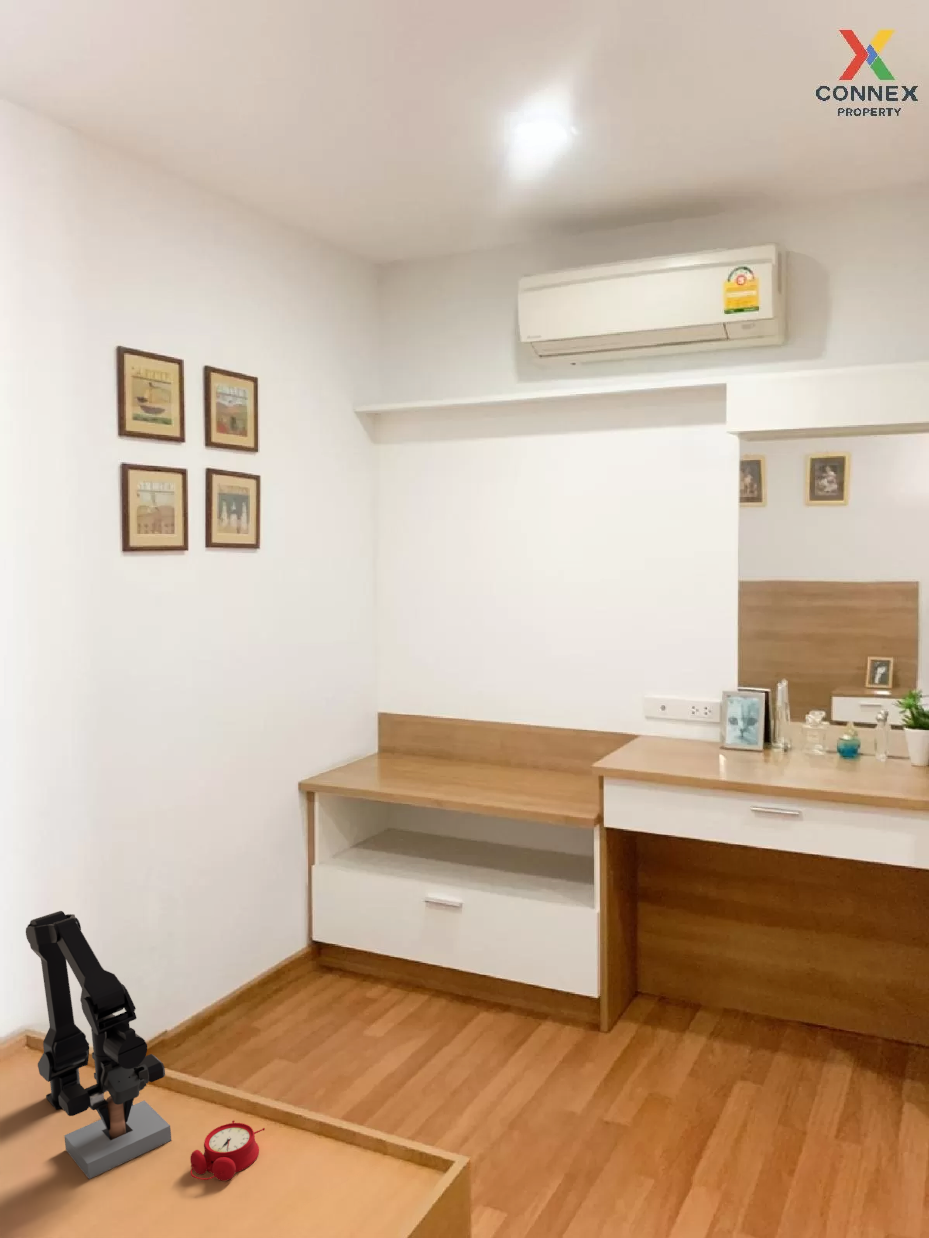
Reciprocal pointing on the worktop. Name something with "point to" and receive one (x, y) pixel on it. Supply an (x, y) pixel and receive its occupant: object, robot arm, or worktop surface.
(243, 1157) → the alarm clock
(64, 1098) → the robot arm
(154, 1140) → the block
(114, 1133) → the long dowel
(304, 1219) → the worktop surface
